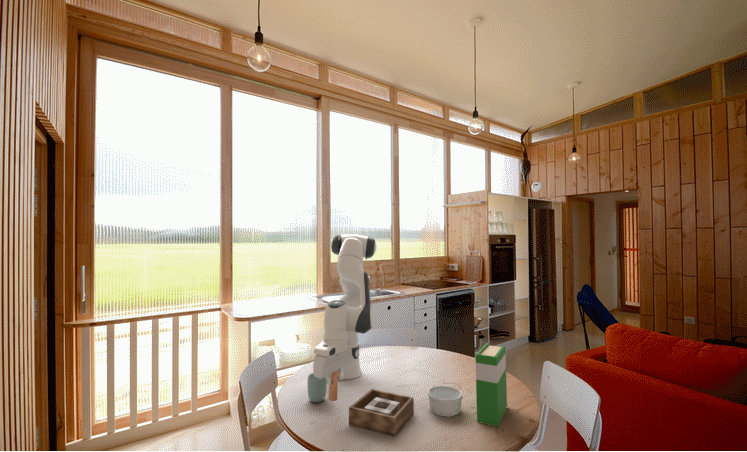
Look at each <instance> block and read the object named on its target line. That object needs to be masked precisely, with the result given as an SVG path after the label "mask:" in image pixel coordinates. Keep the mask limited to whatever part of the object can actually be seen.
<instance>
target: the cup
mask: <svg viewBox="0 0 747 452" xmlns="http://www.w3.org/2000/svg"><path fill="white" fill-rule="evenodd" d="M327 387H328V385H327V380H326V377H324V378H322V379H320V378H317V377H315V376H314V374H313V373H309V374H308V375H307V396H308V400H309V401H311V403H320V402H322V401H324V400H325V398H326V395H327V390H328V389H327Z"/></svg>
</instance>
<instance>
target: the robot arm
mask: <svg viewBox="0 0 747 452" xmlns="http://www.w3.org/2000/svg"><path fill="white" fill-rule="evenodd" d="M330 249H331V252H332V253H333V254H334V255H336V256H337V262H336V271H337V274H338V275H339V285H340V286H341V287H342V292H343V296H340V297H336V298H334V299H333V300H331V301H328V302H327V303H326V305H325V309H324V316H323V328H324V333H323V336H322V340H321V342H320V343H319V344H318V345H316V346H315V347H314V349H313V353H314V355H315V356H314V358H313V363H312V364H313V366H312V368H313V369H312V372H313V374H314V376H315V377H317V378H320V379H322V378H324V377H326V380H327V386H329V385H332V384H333V379H331V376H332V373H333V372H335V371H337V370H338V381H343V380H353V379H356V378H359V377H361V376H362V374H363V372H362V369H361V364H360V344H359V334H363V335H364V334H366V333H368V332H369V331H370V330H371V329H372V328H373V326H374V325H373V324H374V317H373V312H372V305H371V304H372V302H371V291H370V289H371V288H370V279H369V275H368V272H367V271H366V270H365V269H364V258H365V260H367V259H370V258H372V257H374V254H375V253H376V251H377V242H376V239H375V238H374V237H372V236H370V235H369V236H366V235H361V234H351V233H350V234H347V233H345V234H343V233H337V234H334V236H333V237H332V239H331V241H330Z"/></svg>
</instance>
